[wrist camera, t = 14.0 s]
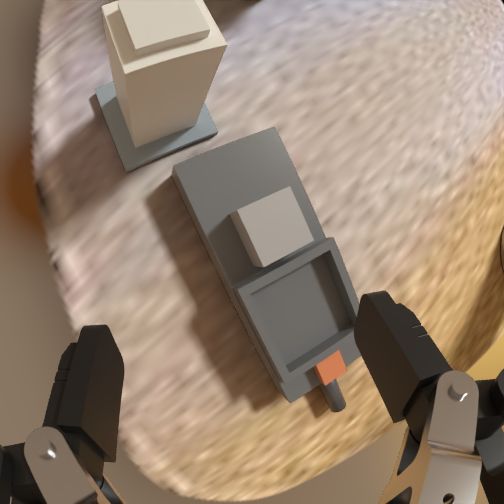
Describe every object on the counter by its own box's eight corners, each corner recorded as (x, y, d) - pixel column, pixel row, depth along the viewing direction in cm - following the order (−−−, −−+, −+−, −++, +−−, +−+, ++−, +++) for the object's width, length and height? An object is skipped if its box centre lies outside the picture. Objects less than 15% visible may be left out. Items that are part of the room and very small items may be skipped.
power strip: (263, 137, 23) (285, 115, 19) (365, 378, 26) (396, 395, 22) (171, 174, 21) (175, 156, 17) (296, 425, 24) (321, 451, 20)
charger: (174, 75, 21) (194, -25, 11) (195, 125, 21) (230, 37, 11) (116, 95, 20) (100, -3, 9) (135, 148, 20) (124, 66, 10)
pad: (181, 60, 21) (181, 57, 21) (216, 134, 22) (218, 131, 22) (95, 92, 20) (94, 89, 19) (126, 172, 21) (125, 170, 20)
